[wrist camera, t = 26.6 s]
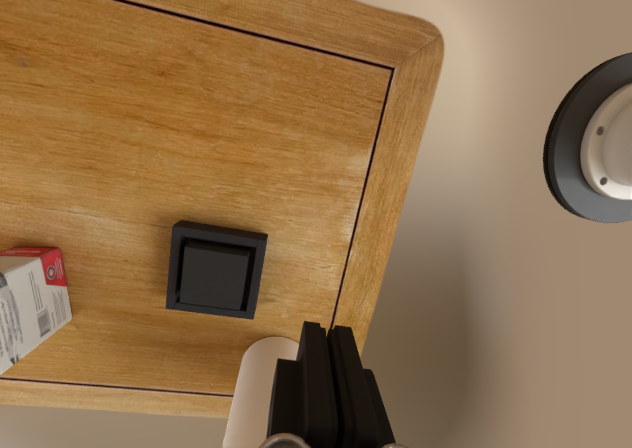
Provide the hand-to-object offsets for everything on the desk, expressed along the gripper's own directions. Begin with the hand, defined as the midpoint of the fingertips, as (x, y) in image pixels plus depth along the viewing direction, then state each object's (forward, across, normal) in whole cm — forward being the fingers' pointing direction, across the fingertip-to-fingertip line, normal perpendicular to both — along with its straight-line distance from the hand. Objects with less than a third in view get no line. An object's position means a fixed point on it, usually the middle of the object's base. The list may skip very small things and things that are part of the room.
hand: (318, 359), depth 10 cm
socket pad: (+22, +8, +7) cm, 25 cm away
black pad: (+21, +8, +7) cm, 24 cm away
